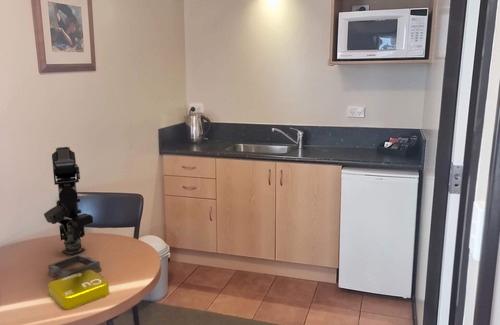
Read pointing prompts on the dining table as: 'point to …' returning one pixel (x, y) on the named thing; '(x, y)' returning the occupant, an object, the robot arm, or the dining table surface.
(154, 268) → the dining table surface
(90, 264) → the socket
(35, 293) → the dining table surface
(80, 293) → the element tile
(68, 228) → the dark grey chess piece
